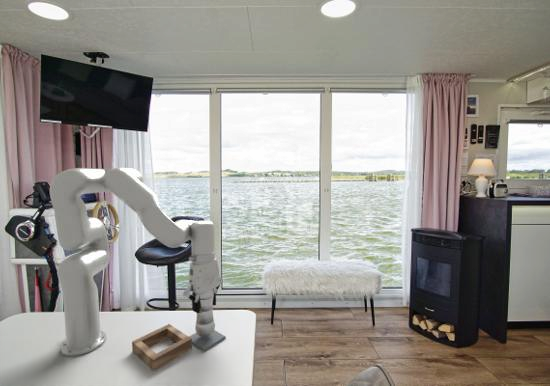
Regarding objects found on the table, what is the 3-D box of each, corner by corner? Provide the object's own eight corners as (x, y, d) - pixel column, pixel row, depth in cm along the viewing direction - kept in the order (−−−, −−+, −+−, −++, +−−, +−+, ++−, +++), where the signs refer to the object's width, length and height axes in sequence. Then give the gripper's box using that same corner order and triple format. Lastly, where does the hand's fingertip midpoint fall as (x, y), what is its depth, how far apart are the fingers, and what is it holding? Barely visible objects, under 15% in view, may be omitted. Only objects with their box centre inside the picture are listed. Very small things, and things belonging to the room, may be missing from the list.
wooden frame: (132, 351, 88) (132, 341, 88) (169, 333, 98) (169, 323, 98) (153, 371, 79) (153, 359, 79) (192, 348, 89) (191, 338, 89)
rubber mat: (186, 340, 94) (186, 337, 94) (207, 328, 101) (207, 326, 101) (204, 351, 88) (204, 349, 88) (225, 338, 95) (225, 336, 95)
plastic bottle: (210, 340, 90) (209, 282, 89) (191, 338, 92) (190, 281, 90) (218, 329, 97) (217, 275, 95) (200, 327, 98) (199, 274, 97)
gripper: (187, 266, 83) (189, 322, 84) (229, 253, 97) (230, 301, 98) (174, 261, 88) (175, 314, 89) (216, 249, 101) (217, 295, 103)
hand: (204, 307), depth 94 cm, fingers closed on plastic bottle, 6 cm apart
